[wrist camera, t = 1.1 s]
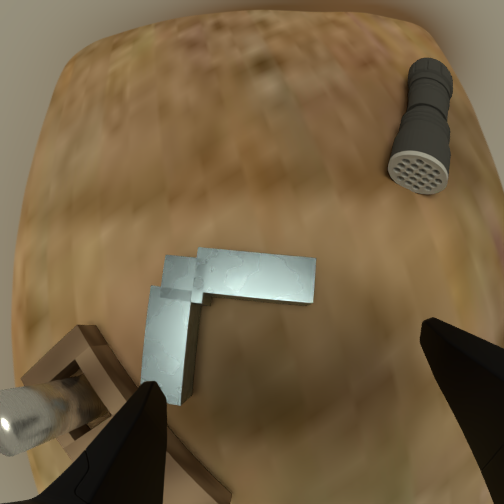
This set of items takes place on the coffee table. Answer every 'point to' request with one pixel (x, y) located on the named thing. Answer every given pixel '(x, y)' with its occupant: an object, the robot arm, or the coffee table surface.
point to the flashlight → (424, 130)
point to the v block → (200, 293)
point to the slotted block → (114, 397)
